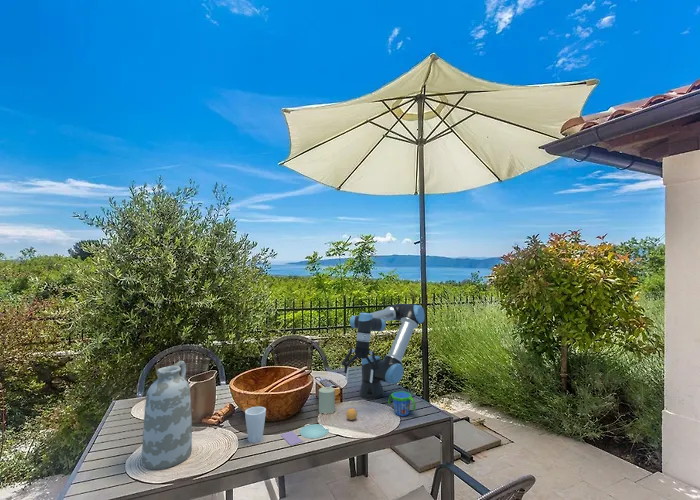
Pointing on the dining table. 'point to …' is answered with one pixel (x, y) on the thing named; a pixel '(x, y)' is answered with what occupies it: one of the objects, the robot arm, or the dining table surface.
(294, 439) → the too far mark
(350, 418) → the ball
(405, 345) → the robot arm
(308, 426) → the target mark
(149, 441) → the vase
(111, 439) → the dining table surface
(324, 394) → the can
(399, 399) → the snack cup
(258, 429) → the foam cup
